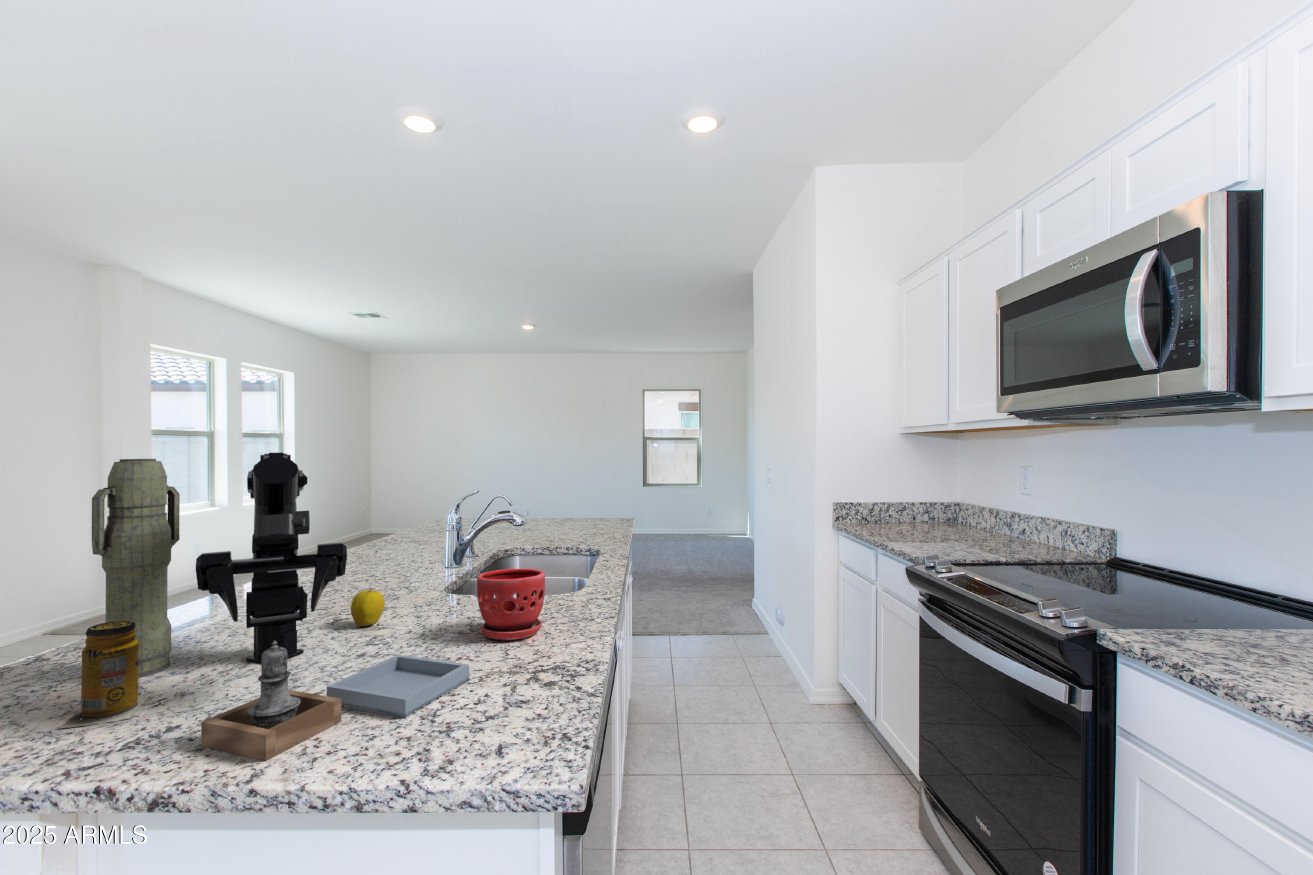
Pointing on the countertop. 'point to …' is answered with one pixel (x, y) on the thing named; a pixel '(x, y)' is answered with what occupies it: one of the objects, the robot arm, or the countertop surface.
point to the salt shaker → (273, 691)
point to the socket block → (247, 740)
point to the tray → (399, 685)
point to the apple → (367, 607)
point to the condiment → (108, 675)
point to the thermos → (138, 553)
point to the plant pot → (511, 602)
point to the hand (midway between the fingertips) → (275, 614)
